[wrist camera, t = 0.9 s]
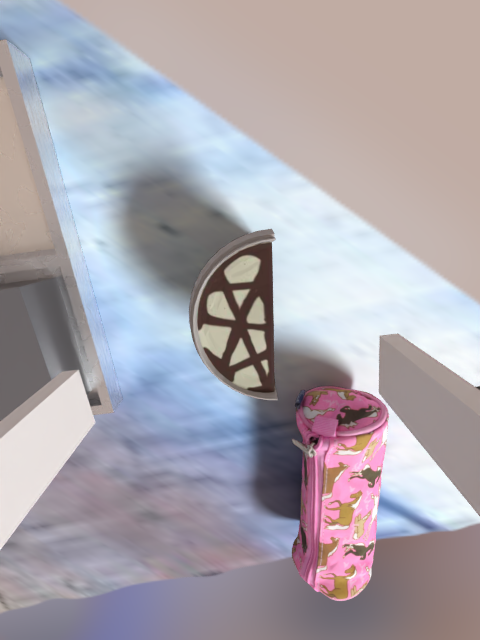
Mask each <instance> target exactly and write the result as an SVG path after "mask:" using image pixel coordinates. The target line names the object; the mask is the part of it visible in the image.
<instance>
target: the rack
mask: <svg viewBox="0 0 480 640" xmlns="http://www.w3.org/2000/svg"><path fill="white" fill-rule="evenodd" d="M51 277H57V279H58V282H59V286H60V289H61V292H62V295H63V299H64V302H65V305H66V309H67V312H68V315H69V318H70V322H71V325H72V328H73V331H74V335H75V338H76V341H77V344H78V348H79V351H80V354H81V358H82V361H83V364H84V367H85V371H86V374H87V377H88V380H89V384H90V387H91V392H90V393H89V394H88V395H87V398H88V401H89V404H90V407H91V410H92V414H93V415H97V414H106V413H114V412H115V410H116V409H117V407H118V406H119V404H120V403H121V401H122V400H123V397H122V394H121V390H120V386H119V383H118V379H117V375H116V372H115V368H114V364H113V361H112V357H111V353H110V350H109V346H108V342H107V339H106V335H105V331H104V328H103V324H102V321H101V317H100V313H99V310H98V306H97V302H96V299H95V295H94V291H93V288H92V284H91V280H90V277H89V273H88V269H87V266H86V262H85V258H84V255H83V251H82V248H81V244H80V240H79V237H78V233H77V229H76V226H75V222H74V218H73V215H72V211H71V207H70V204H69V200H68V196H67V193H66V189H65V185H64V182H63V178H62V175H61V171H60V167H59V164H58V160H57V156H56V153H55V149H54V145H53V142H52V138H51V134H50V131H49V127H48V123H47V120H46V116H45V112H44V109H43V105H42V102H41V98H40V94H39V91H38V87H37V83H36V80H35V76H34V72H33V69H32V65H31V61H30V58H29V57H28V56H26V55H25V54H24V53H23V52H21V51H20V50H19V49H18V48H16V47H15V46H14V45H13V44H11V43H10V42H9V41H8V40H6V39H5V40H0V284H4V283H12V282H20V281H28V280H36V279H44V278H51Z"/></svg>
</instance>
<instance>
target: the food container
mask: <svg viewBox="0 0 480 640" xmlns="http://www.w3.org/2000/svg"><path fill="white" fill-rule="evenodd" d="M274 240H275V238H274V232H273V230H272V229H268V230H261V231H256V232H253V233H250V234H246V235H244V236H241V237H239V238H237V239H235V240H233V241H231V242H230V243H228V244H227V245H226V246H224V247H223V248H221V249H220V250H219V251H218V252H217V253H216V254H215V255H214V256H213V257H212V258H211V259H210V260H209V261H208V262H207V264H206V265H205V266H204V268H203V269H202V270H201V272H200V274H199V276H198V278H197V280H196V282H195V284H194V288H193V291H192V294H191V299H190V306H189V322H190V328H191V333H192V338H193V342H194V344H195V347H196V350H197V352H198V354H199V356H200V358H201V359H202V361H203V363H204V364H205V365H206V367H207V368H208V369H209V370H210V372H211V373H212V374H214V375H215V376H216V377H217V378H218V379H219V380H220V381H221V382H222V383H224V384H225V385H227V386H228V387H230V388H231V389H233V390H235V391H237V392H239V393H241V394H243V395H247V396H250V397H253V398H258V399H264V400H278V397H277V392H276V387H275V379H274V321H273V271H272V242H273V241H274Z"/></svg>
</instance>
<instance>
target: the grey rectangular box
mask: <svg viewBox="0 0 480 640" xmlns="http://www.w3.org/2000/svg"><path fill="white" fill-rule="evenodd" d="M72 370H79V372H80V375H81V378H82V382H83V385H84V388H85V391H86V394H87V395H88V394H89V393H90V392H91V387H90V384H89V380H88V377H87V374H86V371H85V367H84V364H83V361H82V358H81V354H80V351H79V348H78V344H77V341H76V338H75V335H74V331H73V328H72V325H71V322H70V318H69V315H68V312H67V309H66V305H65V302H64V299H63V295H62V292H61V289H60V286H59V282H58V279H57V277H51V278H44V279H36V280H28V281H20V282H12V283H4V284H0V421H2V420H3V419H4V418H5V417H6V416H8V415H9V414H10V413H11V412H13V411H14V410H15V409H16V408H18V407H19V406H20V405H21V404H23V403H24V402H25V401H26V400H27V399H29V398H30V397H31V396H32V395H34V394H35V393H36V392H37V391H39V390H40V389H41V388H42V387H44V386H45V385H46V384H47V383H48V382H50V381H51V380H52V379H53V378H55V377H56V376H57V375H58V374H60V373H61V372H63V371H72Z"/></svg>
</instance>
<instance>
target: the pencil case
mask: <svg viewBox="0 0 480 640" xmlns="http://www.w3.org/2000/svg"><path fill="white" fill-rule="evenodd" d="M295 407H296V422H297V426H298V429H299V432H300V434H301V436H302V438H303V443H301V442H299V441H297V440H295V439H292V442H293V443H294V445H296V446H297V447H299V448H300V449H301V450H302V451H303V461H302V487H301V516H300V525H299V532H298V536H297V538H296V539H295V541H294V544H293V547H292V558H293V561H294V563H295V565H296V567H297V569H298V571H299V574H300V576H301V577H302V578H303V579H304V580H305V581H306V582H307V583H308V584H309V585H310V586H312V588H313V589H314V590H316V591H317V592H319V591H320V592H322V593H323V594H325V595H326V596H327V597H329V598H331V599H333V600H337V601H343V600H348V599H351V598H353V597H355V596H356V595H358V593H360V592H361V591H362V590H363V589H364V588H365V587H366V585H367V584H368V582H369V580H370V577H371V566H372V563H373V553H374V548H375V541H376V535H375V534H376V528H377V510H378V503H379V494H380V488H381V473H382V466H383V460H384V454H385V448H386V442H387V429H388V420H389V413H388V410H387V408H386V406H385V405H384V404H383V403H382V402H381V401H380V400H379V399H378V398H376V397H375V396H373V395H372V394H369V393H367V392H363V391H357V390H351V389H345V388H341V387H334V386H322V387H317V388H313V389H311V390H309V391H307V392H306V393H305V390H301V391H300V393H299V396H298V397H297V399H296V403H295Z"/></svg>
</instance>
